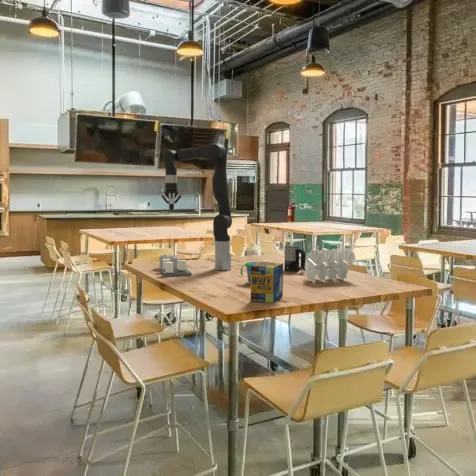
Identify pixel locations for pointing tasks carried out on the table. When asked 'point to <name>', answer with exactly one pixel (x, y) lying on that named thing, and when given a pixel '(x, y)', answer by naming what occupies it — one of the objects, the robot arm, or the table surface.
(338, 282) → the table surface
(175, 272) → the switch bank
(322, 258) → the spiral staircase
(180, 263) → the tab middle
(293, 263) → the milk frother
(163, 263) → the tab
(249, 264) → the snack cup
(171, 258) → the paw print plaque
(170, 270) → the tab
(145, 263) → the table surface
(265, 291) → the protein box
